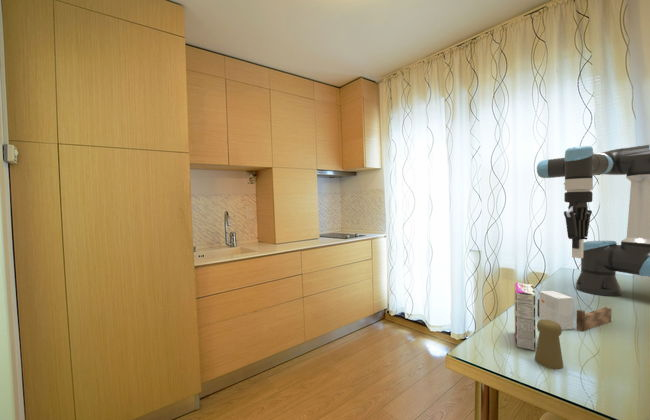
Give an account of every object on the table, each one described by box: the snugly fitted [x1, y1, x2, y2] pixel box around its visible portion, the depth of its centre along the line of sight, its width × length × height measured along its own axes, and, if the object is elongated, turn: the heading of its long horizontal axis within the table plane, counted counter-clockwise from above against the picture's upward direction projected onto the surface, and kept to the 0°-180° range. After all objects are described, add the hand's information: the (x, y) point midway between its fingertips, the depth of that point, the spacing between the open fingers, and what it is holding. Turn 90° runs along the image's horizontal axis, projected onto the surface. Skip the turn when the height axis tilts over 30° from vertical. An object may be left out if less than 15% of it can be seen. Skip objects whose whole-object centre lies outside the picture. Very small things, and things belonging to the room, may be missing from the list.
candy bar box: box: [514, 282, 537, 352], centre depth 88 cm, size 11×5×16 cm, turn 148°
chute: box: [536, 298, 612, 332], centre depth 104 cm, size 18×14×6 cm
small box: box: [538, 290, 574, 331], centre depth 100 cm, size 8×6×10 cm
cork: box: [534, 319, 564, 370], centre depth 77 cm, size 6×6×11 cm
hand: (577, 257), depth 104 cm, fingers closed
